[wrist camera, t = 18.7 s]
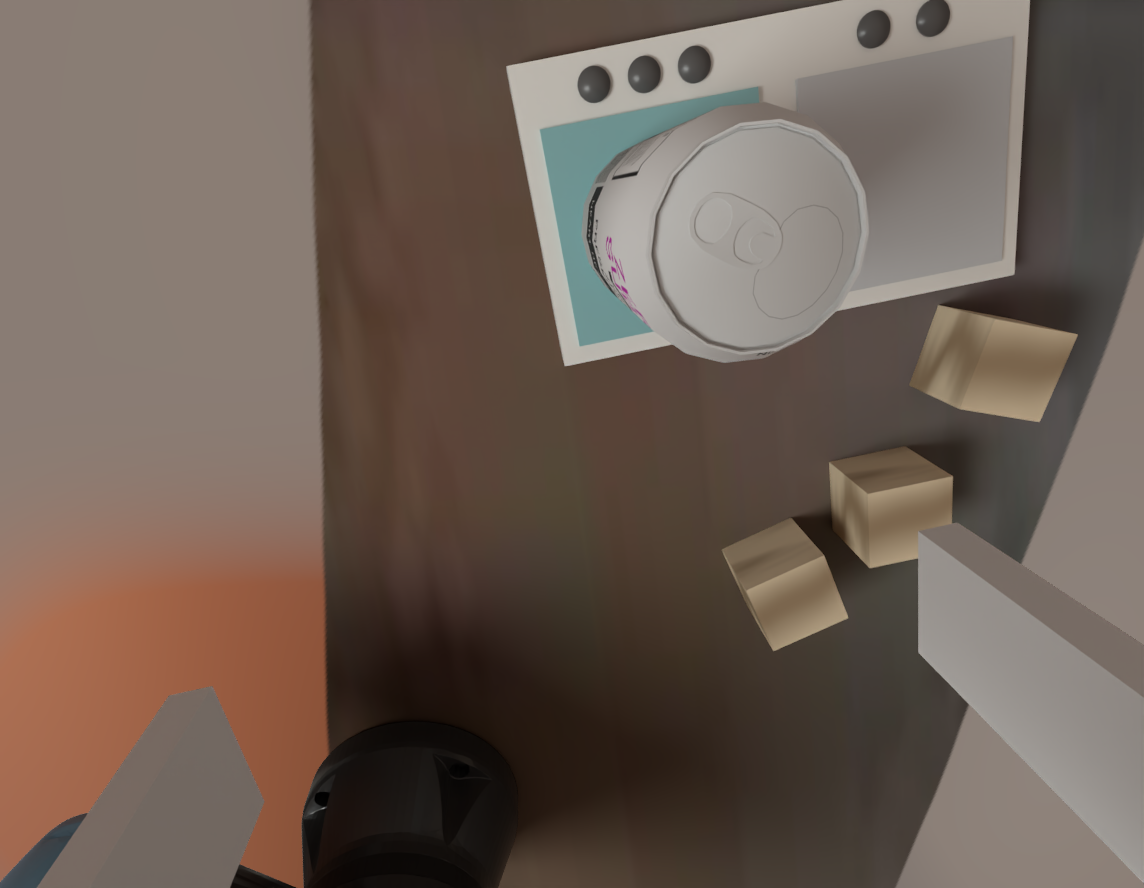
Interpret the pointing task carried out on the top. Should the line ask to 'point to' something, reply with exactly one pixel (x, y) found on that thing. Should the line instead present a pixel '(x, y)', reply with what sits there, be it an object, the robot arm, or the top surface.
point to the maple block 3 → (991, 363)
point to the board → (832, 100)
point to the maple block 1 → (785, 583)
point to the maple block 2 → (888, 503)
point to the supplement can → (730, 230)
